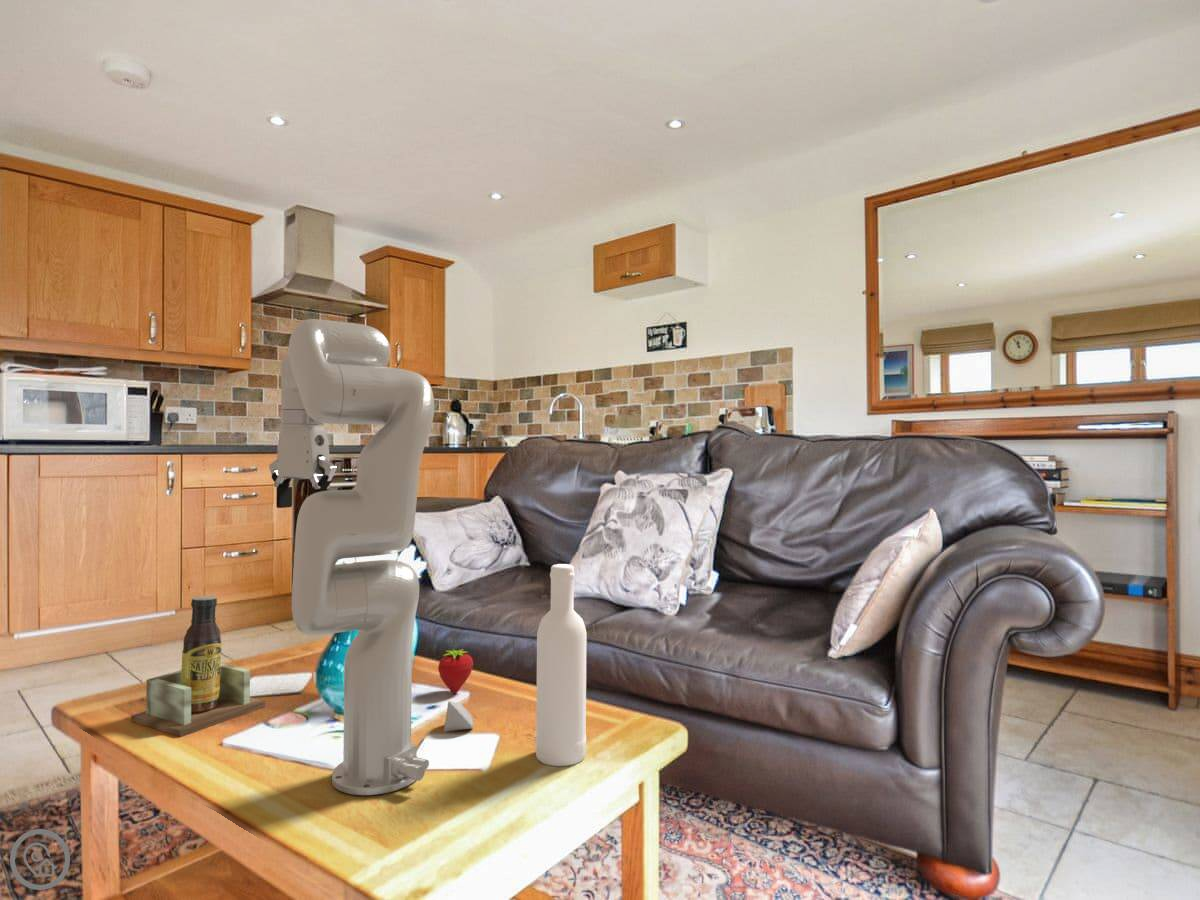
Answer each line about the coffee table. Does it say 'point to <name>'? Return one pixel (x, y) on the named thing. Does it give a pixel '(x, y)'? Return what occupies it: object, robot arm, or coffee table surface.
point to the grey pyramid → (457, 718)
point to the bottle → (561, 676)
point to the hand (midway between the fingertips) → (301, 508)
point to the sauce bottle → (202, 655)
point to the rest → (173, 702)
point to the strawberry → (455, 669)
